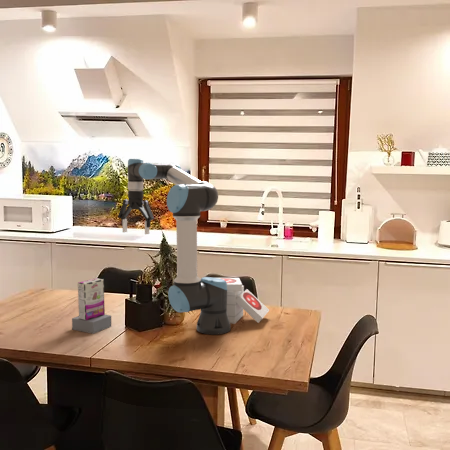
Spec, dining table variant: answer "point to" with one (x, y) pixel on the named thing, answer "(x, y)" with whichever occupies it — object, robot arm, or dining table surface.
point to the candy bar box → (91, 298)
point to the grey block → (91, 324)
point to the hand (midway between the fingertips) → (135, 233)
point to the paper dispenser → (242, 302)
